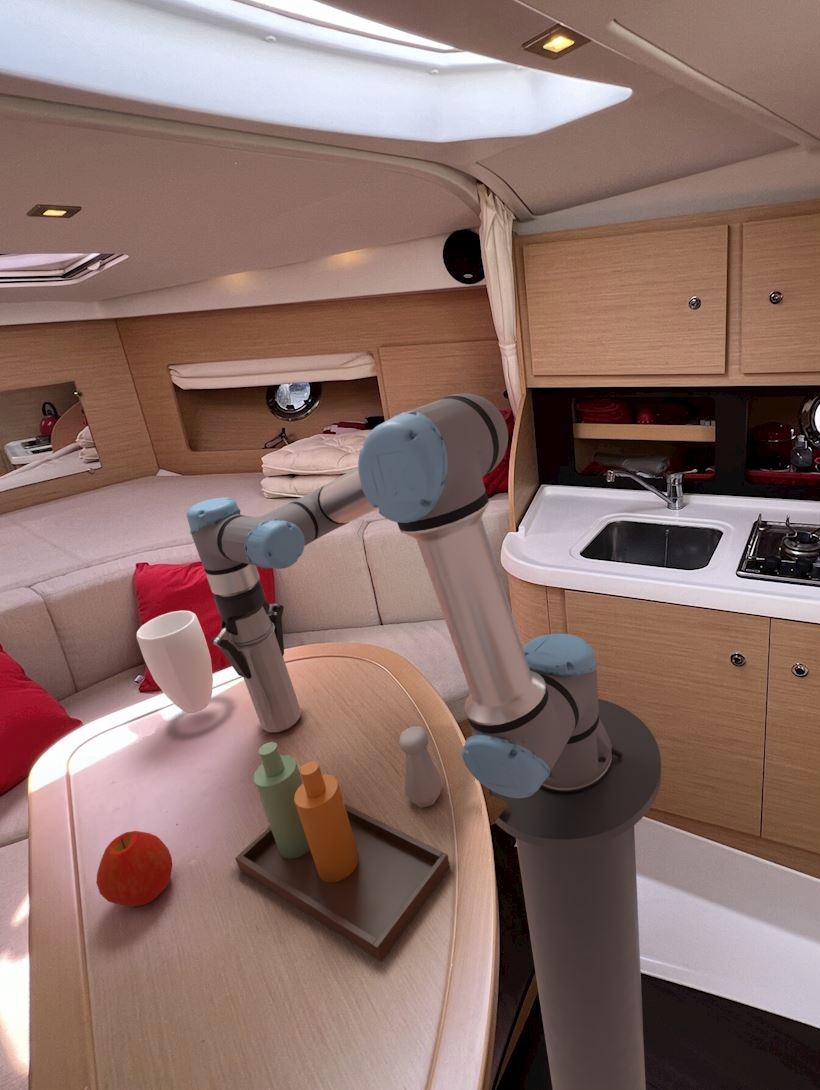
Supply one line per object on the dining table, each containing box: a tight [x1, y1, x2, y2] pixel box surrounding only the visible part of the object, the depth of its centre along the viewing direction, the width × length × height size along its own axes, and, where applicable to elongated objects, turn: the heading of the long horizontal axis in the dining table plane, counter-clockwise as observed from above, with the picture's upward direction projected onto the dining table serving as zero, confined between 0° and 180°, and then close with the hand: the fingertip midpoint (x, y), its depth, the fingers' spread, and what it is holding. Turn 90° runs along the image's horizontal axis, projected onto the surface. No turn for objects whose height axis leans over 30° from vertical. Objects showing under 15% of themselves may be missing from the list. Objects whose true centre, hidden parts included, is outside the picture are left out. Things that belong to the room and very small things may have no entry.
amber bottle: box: [294, 760, 359, 883], centre depth 82 cm, size 6×6×18 cm
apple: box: [95, 830, 173, 907], centre depth 82 cm, size 8×8×11 cm
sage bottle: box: [253, 741, 310, 859], centre depth 86 cm, size 6×6×18 cm
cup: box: [136, 610, 214, 714], centre depth 114 cm, size 10×10×22 cm
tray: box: [234, 803, 451, 962], centre depth 85 cm, size 28×14×3 cm, turn 61°
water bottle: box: [229, 605, 302, 733], centre depth 109 cm, size 9×8×25 cm
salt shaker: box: [398, 725, 443, 809], centre depth 93 cm, size 6×6×13 cm
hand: (272, 697), depth 112 cm, fingers closed
